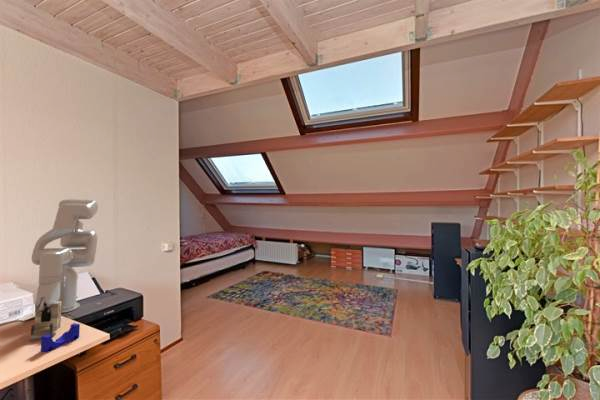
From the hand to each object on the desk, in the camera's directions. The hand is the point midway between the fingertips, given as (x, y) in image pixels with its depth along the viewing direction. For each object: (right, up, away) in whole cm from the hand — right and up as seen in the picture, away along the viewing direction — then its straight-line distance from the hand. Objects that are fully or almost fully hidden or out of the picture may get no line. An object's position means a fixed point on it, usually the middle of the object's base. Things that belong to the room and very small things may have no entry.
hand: (48, 319), depth 120 cm
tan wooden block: (0, -5, 0) cm, 5 cm away
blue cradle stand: (+15, -6, -11) cm, 19 cm away
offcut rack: (+4, -5, -7) cm, 9 cm away
